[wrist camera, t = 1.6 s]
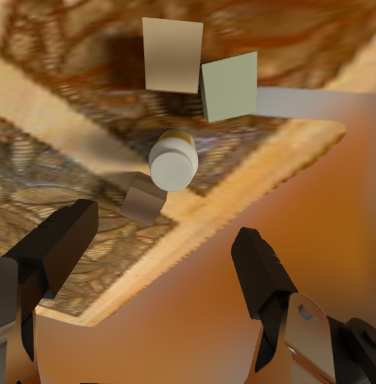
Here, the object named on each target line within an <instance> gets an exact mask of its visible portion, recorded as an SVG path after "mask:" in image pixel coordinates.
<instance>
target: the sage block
mask: <svg viewBox="0 0 376 384" xmlns="http://www.w3.org/2000/svg"><path fill="white" fill-rule="evenodd" d="M199 84H200V91H201V99H202V106H203V113H204V118H205V119H206V120H207V121H208V122H214V121H218V120H223V119H228V118H232V117H237V116H242V115H246V114H251V113H256V112H257V52H253V53H248V54H244V55H240V56H236V57H232V58H228V59H224V60H220V61H215V62H211V63H207V64H203V65H201V67H200V69H199Z"/></svg>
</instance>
